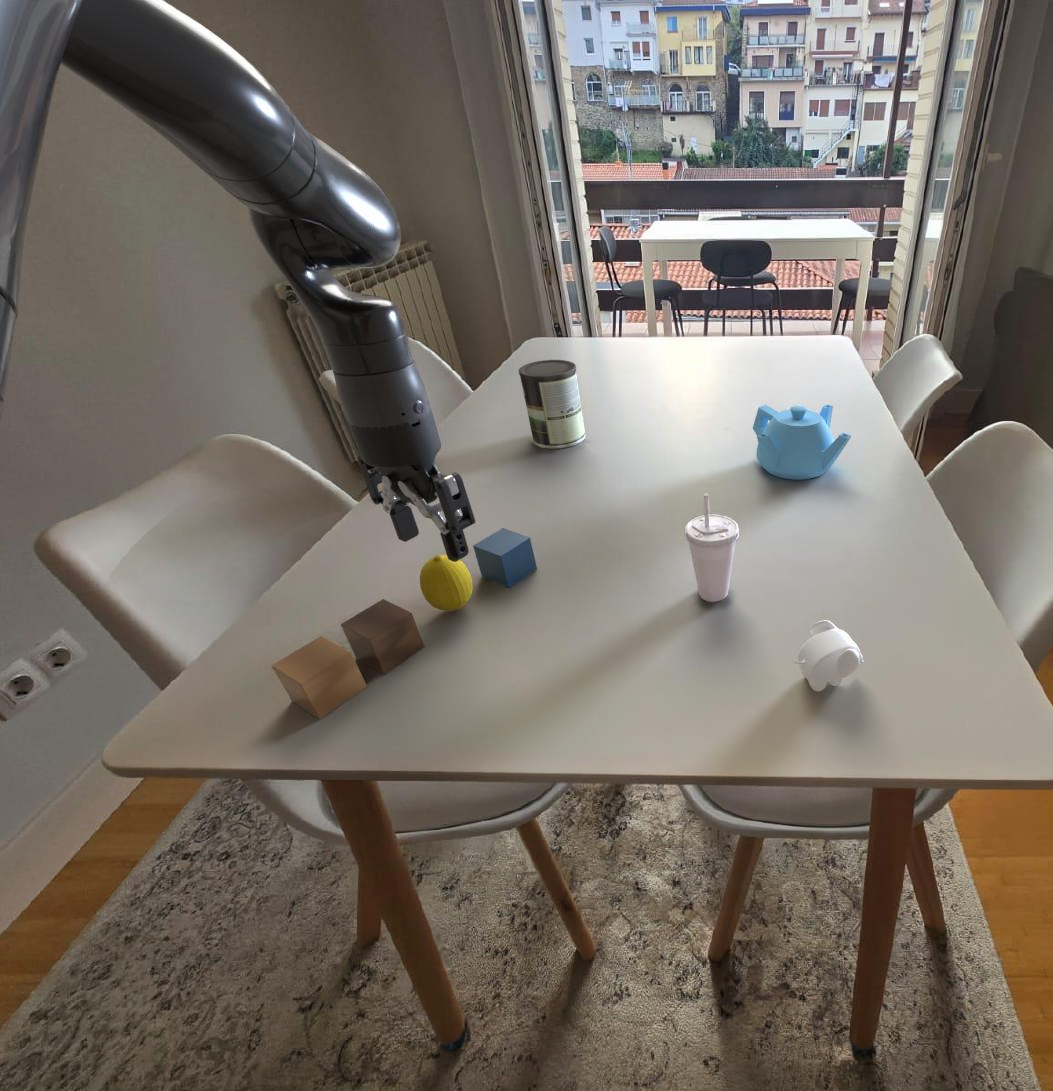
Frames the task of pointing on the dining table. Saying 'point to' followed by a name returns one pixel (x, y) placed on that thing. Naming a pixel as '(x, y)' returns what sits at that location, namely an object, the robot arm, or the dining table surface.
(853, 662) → the white rounded piece
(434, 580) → the lemon
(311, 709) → the block
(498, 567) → the block
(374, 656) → the block
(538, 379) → the coffee can
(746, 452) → the dining table surface
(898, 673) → the dining table surface
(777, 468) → the teapot
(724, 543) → the smoothie
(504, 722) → the dining table surface
